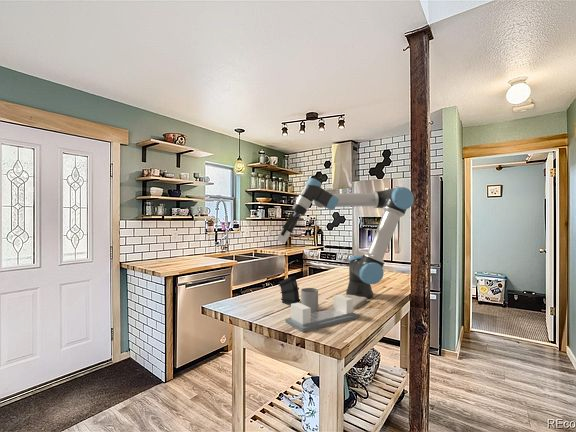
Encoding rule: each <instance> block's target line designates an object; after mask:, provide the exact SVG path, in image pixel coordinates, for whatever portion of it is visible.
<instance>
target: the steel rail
mask: <svg viewBox="0 0 576 432" xmlns="http://www.w3.org/2000/svg"><path fill="white" fill-rule="evenodd" d="M353 313H354V311H353V312H352V313H348V314H346V313H343V312H341V311H339V310H336V309H334V308H329V309H323V310H318V312H315V313H311V322H310V323H306V324H301V323H299V322H298V321H296V320H294V319H292V318H291V317H290V318H291V320H292V321H294V322H296V323H298V324H300V325H301V326H306V325H310V324H314V323H318V322H322V321H326V320H330V319H335V318H339V317H343V316H347V315H351V314H353Z"/></svg>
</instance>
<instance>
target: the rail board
mask: <svg viewBox="0 0 576 432" xmlns="http://www.w3.org/2000/svg"><path fill="white" fill-rule="evenodd" d="M314 313H315V312H314ZM359 316H360V314H358V313H356V312H353V314H351V315H347V316H343V317H339V318H335V319H330V320H326V321H322V322H318V323H314V324H310V325H306V326H301V325H300V324H298V323H296V322H294V321H292V320H291V317H289V318H285V323H286V324H287V323H288V324H287V325H289V324H290V325H289V326H291V327H292V328H294V327H295V328H294V329H296V330H298V331H299V330H300V332H301V333H305V332H309V331H314V330H318V329H320V328H324V327H328V326H332V325H336V324H337V325H338V324H340V323H344V322H348V321H349V322H350V321H352V320H357V319H359Z"/></svg>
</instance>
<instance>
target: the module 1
mask: <svg viewBox="0 0 576 432" xmlns="http://www.w3.org/2000/svg"><path fill="white" fill-rule="evenodd" d="M290 318H292V319H294V320H296V321H298V322H299V323H301V324H306V323H310V322H311V308H310V307H307V306H305V305H303V304H301V302H298V303H293V304H291V306H290Z"/></svg>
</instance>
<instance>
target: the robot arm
mask: <svg viewBox="0 0 576 432" xmlns="http://www.w3.org/2000/svg"><path fill="white" fill-rule="evenodd" d="M414 201H415V196H414V195H413V192H412V191H411V190H410V189H409V188H408V187H404V186H397V187H394V188H388V189H384V190H378V191H377V190H376V191H373V192H369V193H368V192H366V193H365V192H363V193H361V192H360V193H331V192H329V191H328V190H325V189H323V188H322V183H321V181H319V179H316V178H313V177H309V178H308V179H307V181H306V183H305V184H304V186H303V188H302V189H301V192H300V193H299V195H298V196H296V200H295V203H294V204H293V205H292V207H291V210H292V212H291V214H290V216H289V217H288V219H287V221H286V222H285V223H284V224H283V225H282V226H281V228H282V230H281V231H280V233H279V235H278V236H277V238H276V240H277V241H278V242H279V243H283V244H286V242H288V241H287V240H288V239H289V238H290V236H291V234H293V233H294V229H295V227H296V225H297V223H298V221H299V219H300V216H305V215H306V213H307V212H308V209H309V208H310V206H311V204H312V202H313V203H314V205H315V206H316V207H318V208H326V209H327V210H330V211H333V210H335V209H336V208H344V207H346V208H347V207H348V208H349V207H352V208H354V207H372V208H373V209H382V210H383V214H382V217H381V218H380V221H379V224H378V226H377V228H376V230H375V233H374V236H373V238H372V240H371V242H370V245H369V247H368V250H367V252H366V253H363V254H362V255H350V256H349V260H348V265H349V266H348V267H349V268H348V271H349V272H348V275H349V276H348V277H349V281H348V286H347V288H346V291H345V296H346V295H355V296H358V297H366V298H367V300H368V299H372V298H373V297H374V291H373V288H372V285H375V284H378V283H380V281H382V279H383V277H384V266H385V265H384V264H385V261H384V257H385V255H386V252H387V250H388V248H389V245H390V242H391V240H392V238H393V236H394V233H395V230H396V228H397V226H398V223H399V221H400V218H401V217H404V216H405V214H406V213H407V212H406V211H407V210H409V209H410V208H411V207H412V205H413V204H414Z"/></svg>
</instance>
